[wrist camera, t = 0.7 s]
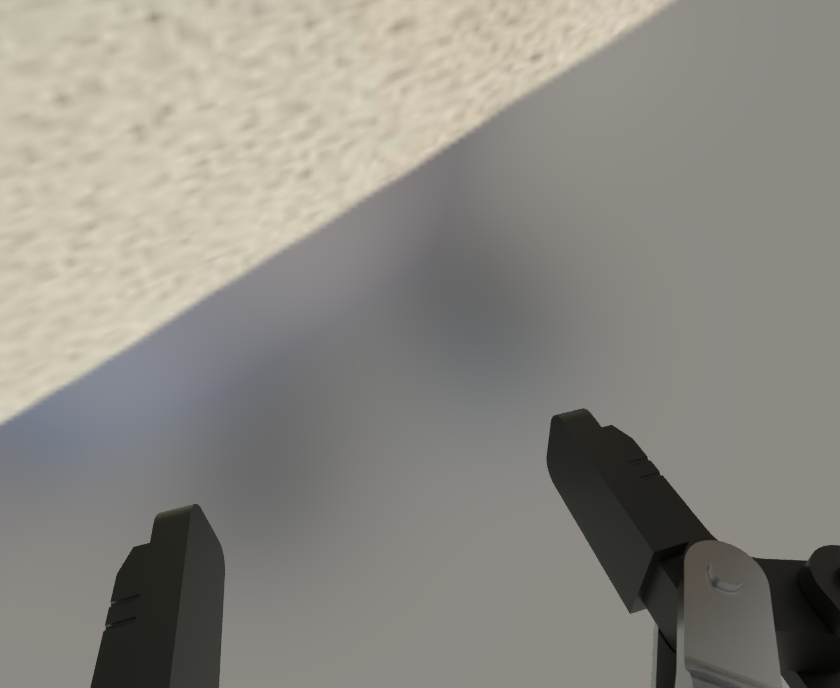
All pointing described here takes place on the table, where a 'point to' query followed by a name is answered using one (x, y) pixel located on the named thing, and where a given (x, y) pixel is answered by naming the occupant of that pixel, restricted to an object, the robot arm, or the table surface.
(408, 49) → the table surface
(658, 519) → the robot arm
